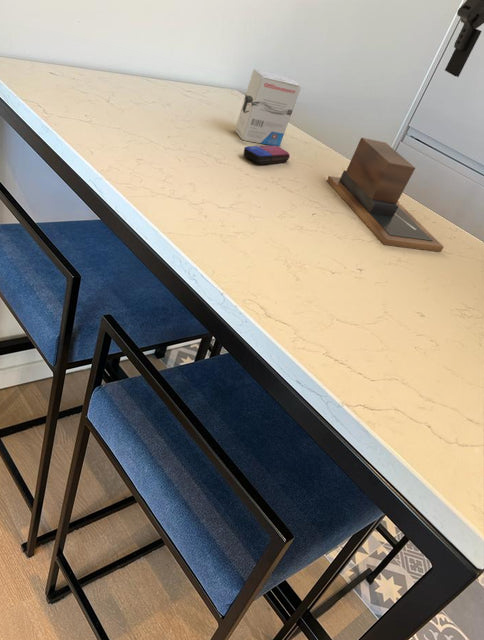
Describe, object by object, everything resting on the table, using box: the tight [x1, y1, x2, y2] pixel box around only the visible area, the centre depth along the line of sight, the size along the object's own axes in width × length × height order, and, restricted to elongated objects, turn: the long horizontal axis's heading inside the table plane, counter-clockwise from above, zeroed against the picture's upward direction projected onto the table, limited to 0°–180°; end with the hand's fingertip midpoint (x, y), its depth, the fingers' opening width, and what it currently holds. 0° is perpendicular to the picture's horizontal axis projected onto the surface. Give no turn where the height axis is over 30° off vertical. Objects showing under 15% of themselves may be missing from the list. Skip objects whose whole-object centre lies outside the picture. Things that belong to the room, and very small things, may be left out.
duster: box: [339, 137, 416, 216], centre depth 99 cm, size 12×5×8 cm, turn 17°
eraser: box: [243, 145, 291, 165], centre depth 104 cm, size 11×4×2 cm, turn 136°
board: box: [326, 175, 445, 253], centre depth 101 cm, size 22×12×1 cm, turn 17°
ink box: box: [234, 68, 302, 147], centre depth 109 cm, size 8×5×12 cm, turn 108°
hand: (482, 82), depth 92 cm, fingers open, 13 cm apart
